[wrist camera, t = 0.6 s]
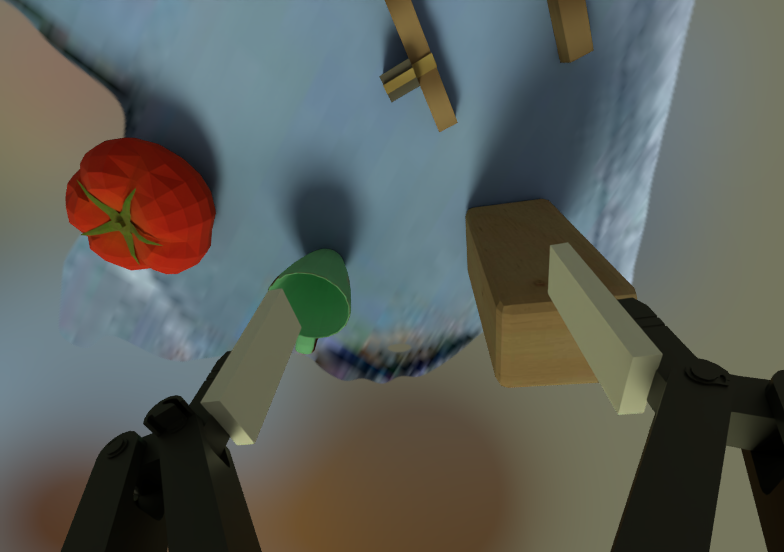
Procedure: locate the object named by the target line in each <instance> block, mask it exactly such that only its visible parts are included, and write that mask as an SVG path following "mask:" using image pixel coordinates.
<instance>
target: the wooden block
mask: <svg viewBox="0 0 784 552" xmlns="http://www.w3.org/2000/svg"><path fill="white" fill-rule="evenodd" d="M465 217H466V241H467V264H468V273H469V277H470V281H471V285H472V289H473V293H474V297H475V300H476V304H477V308H478V312H479V316H480V320H481V323H482V327H483V331H484V335H485V339H486V342H487V346H488V350H489V354H490V358H491V362H492V365H493V370H494V373H495V377H496V378H497V380H498V381H499V383H500V384H501V386H504V387H508V388H510V387H528V386H546V385H562V384H581V383H599V381H598V379H597V378H596V376H595V374H594V372H593V371H592V369H591V367H590V366H589V364H588V362H587V360H586V359H585V357H584V355H583V353H582V352H581V350H580V348H579V346H578V345H577V343H576V341H575V340H574V338H573V336H572V334H571V333H570V331H569V329H568V327H567V326H566V324H565V322H564V321H563V319H562V317H561V315H560V314H559V312H558V310H557V308H556V307H555V305H554V303H553V301H552V300H551V298H550V296H549V295H548V279H549V258H550V245H555V244H561V243H567V242H568V243H569V244H570V245H571V246H572V248H573V249H574V250H575V251H576V252H577V253H578V255H579V256H580V257H581V258H582V259H583V261H584V262H585V263H586V264H587V265H588V266H589V268H590V269H591V270H592V271H593V272H594V274H595V275H596V276H597V277H598V278H599V279H600V281H601V282H602V283H603V284H604V285H605V287H606V288H607V289H608V290H609V291H610V292H611V294H612V295H613V296H614V297H615V298H616V300H617V299H625V298H632V297H633V298H635V299H636V300H637V296H636V292H635V289H634V287H633V286H632V285H631V284H630V283H629V282H628V281H627V280H626V279H625V278H624V277H623V276H622V275H621V274H620V273H619V272H618V271H617V270H616V269H615V268H614V267H613V266H612V265H611V264H610V263H609V262H608V261H607V260H606V259H605V258H604V257H603V256H602V254H601V253H600V252H599V251H598V250H597V249H596V248H595V247H594V246H593V245H592V244H591V243H590V242H589V241H588V240H587V239H586V238H585V237H584V236H583V235H582V234H581V233H580V232H579V231H578V230H577V229H576V228H575V227H574V226H573V225H572V224H571V223H570V222H569V221H568V220H567V219H566V218H565V217H564V216H563V215H562V214H561V213H560V212H559V210H558V209H557V208H556V207H555V206H554V205H553V204H552V203H551V202H550V201H549V200H545V199H536V200H529V201H521V202H513V203H505V204H498V205H490V206H482V207H474V208H471V209H469V210H468V211H467V214H466V216H465Z"/></svg>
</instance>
